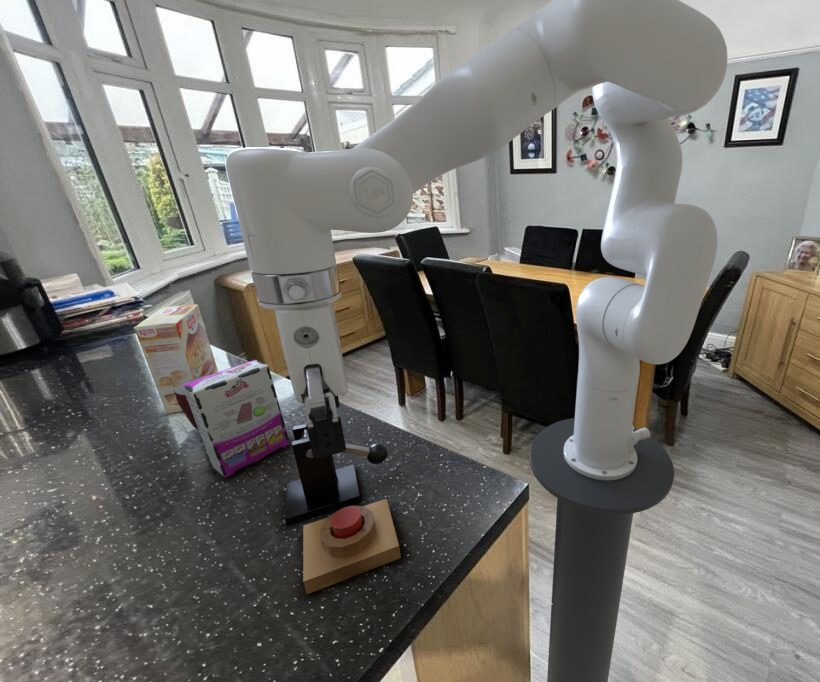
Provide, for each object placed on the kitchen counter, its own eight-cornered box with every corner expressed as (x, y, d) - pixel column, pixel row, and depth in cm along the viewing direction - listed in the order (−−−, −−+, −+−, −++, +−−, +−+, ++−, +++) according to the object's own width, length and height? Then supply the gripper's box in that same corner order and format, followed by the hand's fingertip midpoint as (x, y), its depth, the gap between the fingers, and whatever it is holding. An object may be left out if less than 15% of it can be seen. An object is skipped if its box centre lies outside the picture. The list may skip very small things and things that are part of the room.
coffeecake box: (205, 408, 85) (176, 323, 77) (164, 415, 82) (130, 327, 75) (222, 378, 98) (199, 303, 90) (187, 383, 95) (160, 306, 88)
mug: (211, 413, 83) (197, 370, 79) (252, 409, 84) (240, 367, 80) (181, 443, 73) (163, 396, 69) (228, 439, 74) (213, 393, 71)
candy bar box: (276, 435, 75) (255, 358, 69) (291, 444, 73) (270, 364, 67) (210, 468, 67) (179, 383, 61) (224, 479, 64) (193, 391, 58)
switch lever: (380, 458, 65) (388, 441, 65) (384, 469, 62) (392, 452, 62) (297, 443, 58) (305, 425, 58) (296, 456, 55) (305, 436, 55)
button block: (388, 510, 58) (385, 488, 57) (400, 558, 51) (397, 535, 49) (306, 537, 54) (300, 515, 52) (306, 594, 46) (299, 570, 45)
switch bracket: (355, 470, 66) (343, 410, 62) (360, 502, 60) (348, 437, 55) (288, 488, 62) (271, 426, 58) (286, 525, 56) (267, 457, 51)
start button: (360, 512, 53) (359, 502, 53) (364, 532, 50) (362, 522, 50) (332, 522, 52) (329, 512, 51) (334, 543, 49) (331, 532, 48)
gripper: (346, 303, 34) (372, 464, 40) (334, 267, 48) (354, 390, 54) (243, 314, 31) (288, 487, 37) (263, 272, 45) (293, 402, 51)
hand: (328, 429), depth 46 cm, fingers open, 9 cm apart
